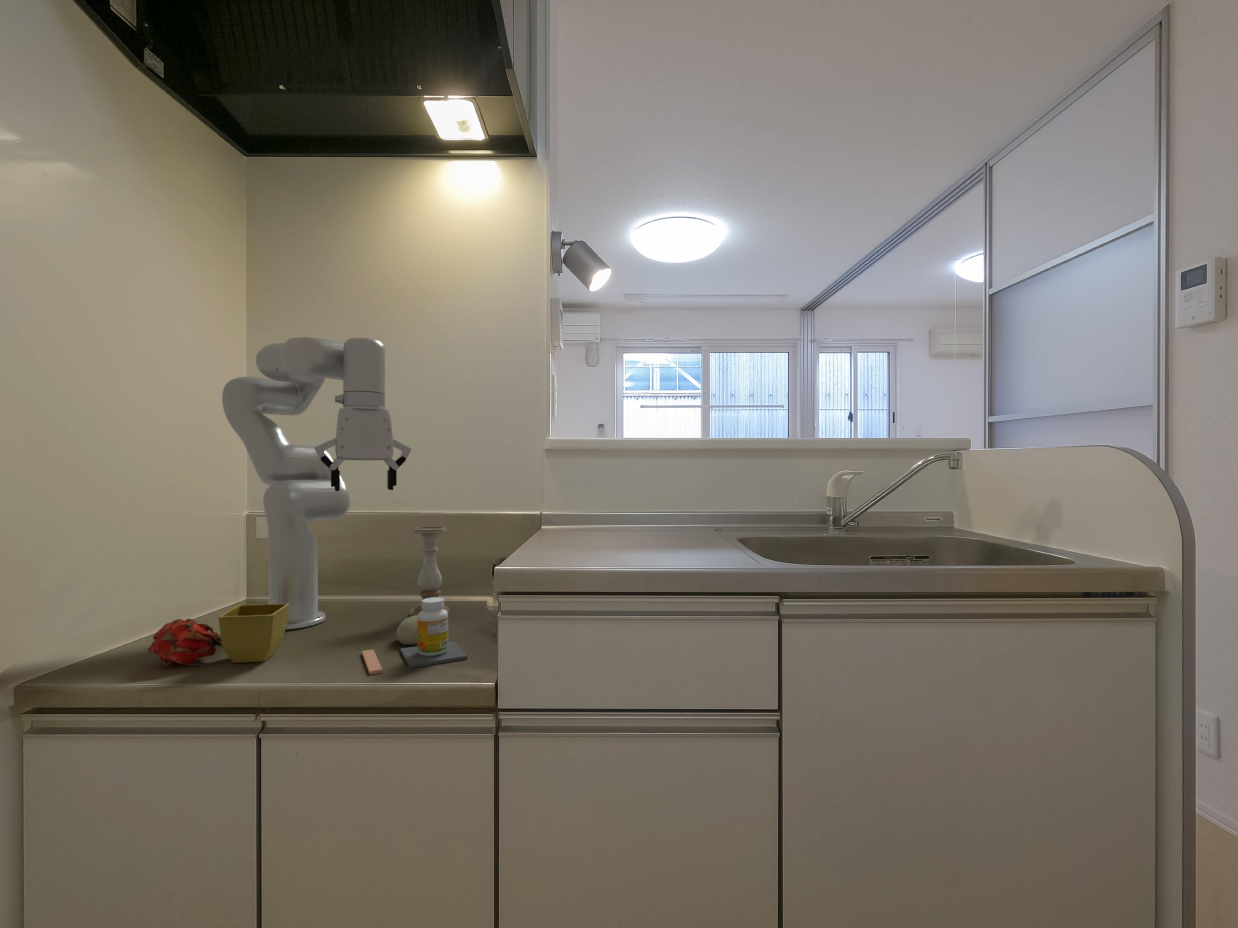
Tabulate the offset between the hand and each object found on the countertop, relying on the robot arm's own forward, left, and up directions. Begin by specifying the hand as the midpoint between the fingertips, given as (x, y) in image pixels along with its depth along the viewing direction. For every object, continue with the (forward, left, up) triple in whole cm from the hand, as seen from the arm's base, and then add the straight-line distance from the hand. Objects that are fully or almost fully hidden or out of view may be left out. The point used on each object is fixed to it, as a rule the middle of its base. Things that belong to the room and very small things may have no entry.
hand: (364, 490), depth 115 cm
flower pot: (-1, -18, -31) cm, 36 cm away
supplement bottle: (+13, +11, -30) cm, 34 cm away
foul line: (+12, 0, -30) cm, 33 cm away
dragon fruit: (-4, -29, -31) cm, 42 cm away
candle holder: (-17, +16, -31) cm, 38 cm away
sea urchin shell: (+2, +10, -31) cm, 32 cm away
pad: (+13, +11, -30) cm, 35 cm away
